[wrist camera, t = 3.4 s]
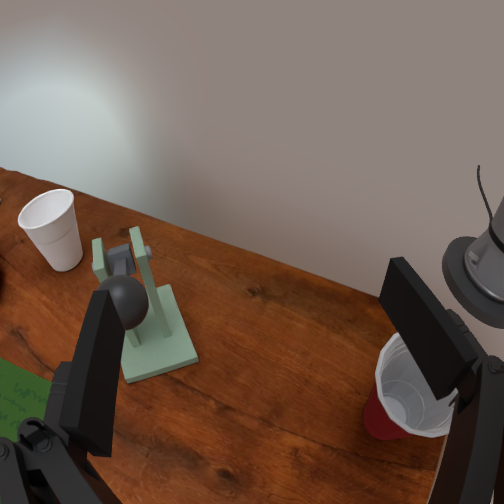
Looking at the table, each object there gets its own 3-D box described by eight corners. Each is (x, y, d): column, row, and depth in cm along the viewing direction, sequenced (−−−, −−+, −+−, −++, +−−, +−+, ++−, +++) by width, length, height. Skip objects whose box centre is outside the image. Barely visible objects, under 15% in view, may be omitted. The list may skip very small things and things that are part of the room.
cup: (104, 250, 48) (85, 195, 40) (65, 290, 41) (36, 235, 34) (70, 234, 51) (52, 184, 43) (34, 268, 44) (8, 218, 37)
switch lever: (159, 331, 18) (140, 277, 17) (105, 347, 17) (83, 294, 16) (143, 268, 31) (133, 235, 30) (111, 278, 30) (100, 245, 28)
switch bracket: (199, 361, 35) (179, 277, 25) (128, 384, 32) (76, 309, 22) (171, 289, 43) (151, 201, 32) (111, 307, 40) (74, 223, 30)
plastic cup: (319, 411, 30) (351, 365, 22) (386, 362, 35) (428, 304, 26) (377, 481, 24) (435, 462, 16) (438, 421, 28) (499, 377, 20)
